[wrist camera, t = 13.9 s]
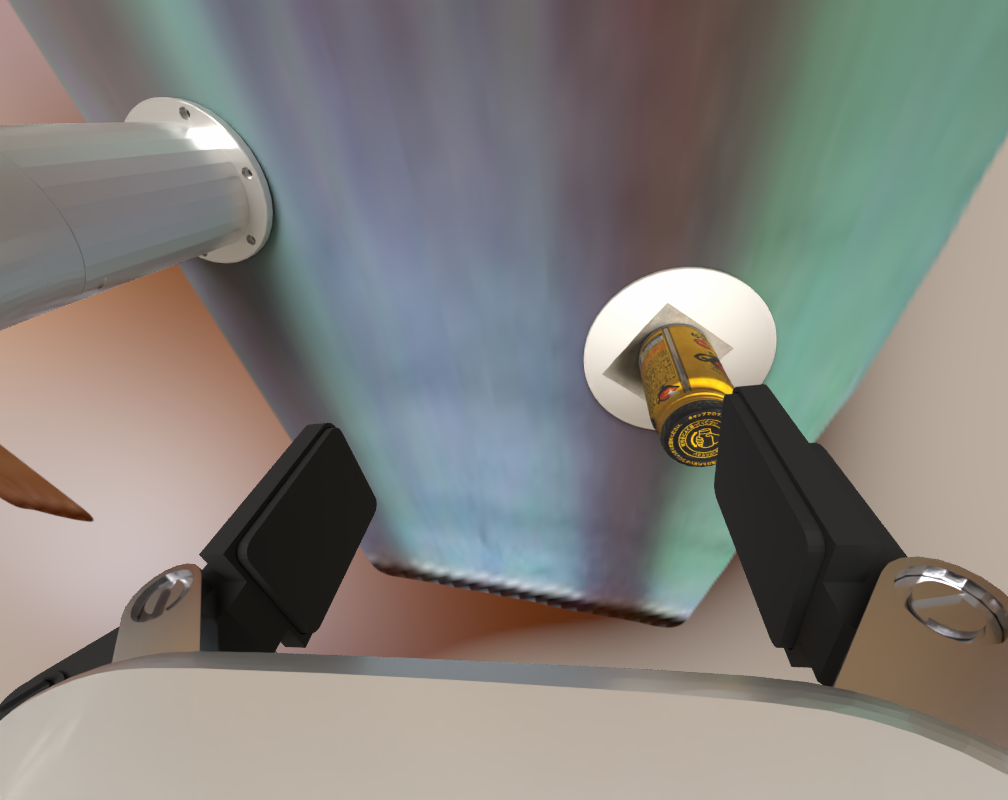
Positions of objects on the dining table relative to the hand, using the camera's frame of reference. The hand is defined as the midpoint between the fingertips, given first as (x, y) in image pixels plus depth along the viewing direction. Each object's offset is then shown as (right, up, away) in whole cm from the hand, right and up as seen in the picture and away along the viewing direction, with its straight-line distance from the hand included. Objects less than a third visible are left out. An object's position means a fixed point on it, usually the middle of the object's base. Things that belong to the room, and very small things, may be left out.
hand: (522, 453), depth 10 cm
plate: (+15, +5, +28) cm, 32 cm away
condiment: (+14, +5, +27) cm, 31 cm away
